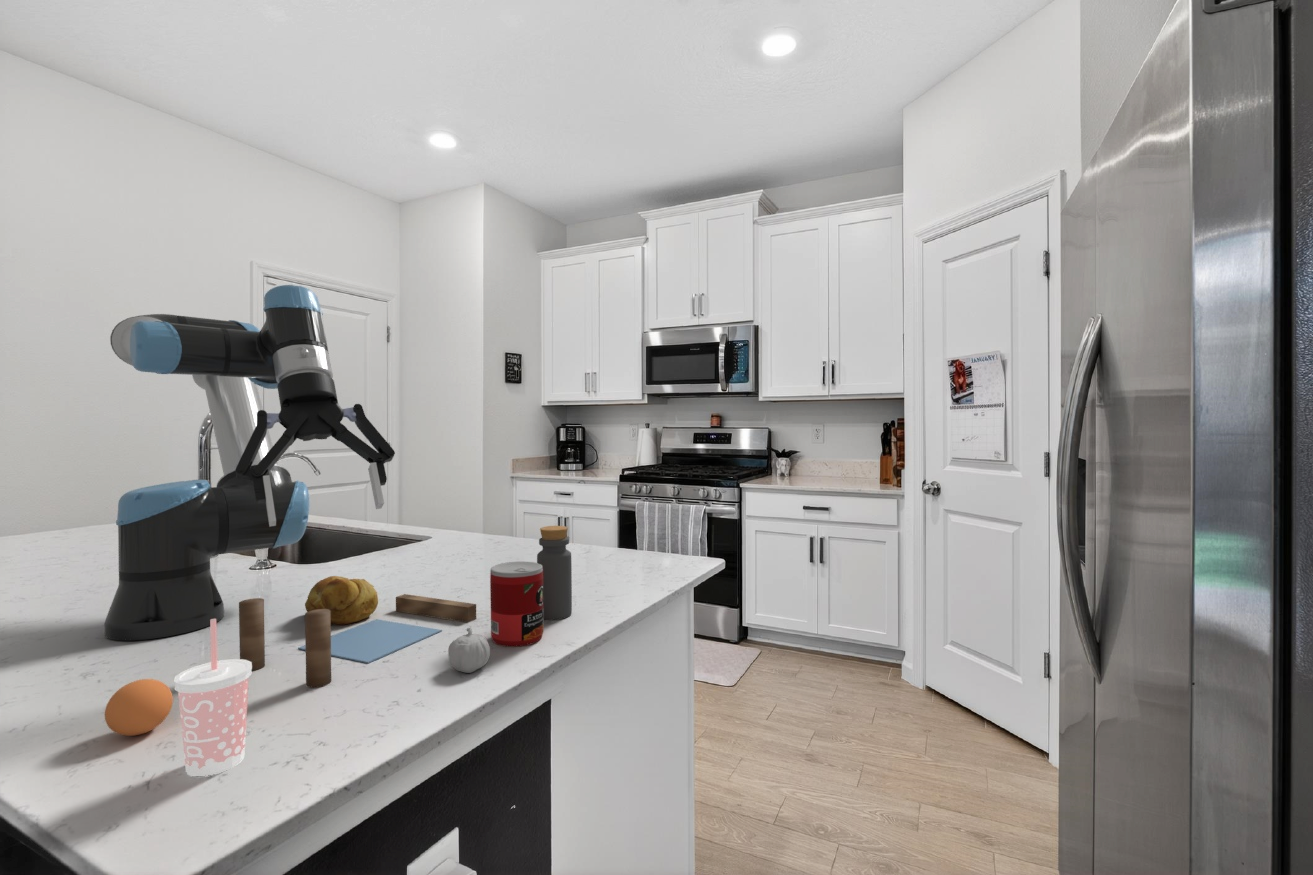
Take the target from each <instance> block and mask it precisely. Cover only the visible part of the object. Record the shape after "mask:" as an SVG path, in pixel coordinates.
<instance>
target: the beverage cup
mask: <svg viewBox="0 0 1313 875" xmlns="http://www.w3.org/2000/svg"><path fill="white" fill-rule="evenodd" d="M209 627H210V628H209V629H210V630H209V631H210V661H208V662H206V663H202V664H198V665H195V666H192V667H189V668H188V669H185V670H183V671H181V672H180V673H178V674H176V675H175V676H174V680H173V685H174V691H176V692H177V695H178V706H179V713H180V714H179V715H180V726H181V734H182V746H183V755H184V756H183V757H184V763H185V764H184V765H185V766H184V767H185V773H186V772H187V773H188V774H190V775H193V776H205V775H206V776H205V777H209V776H208V775H211V776H214V775H213V774H215V775H218V774H221V772H222V773H224V772H226V770H227V771H229V770H231V769H233V768H235V767H236V766H237V765H239V764H241V762H242V761H243V760H244V759H245V752H246V751H245V750H246V738H247V737H246V734H247V714H248V698H249V697H248V696H249V679H250V676H252V672H253V671H251V670H252V662H250V661H248V660H243V659H240V658H232V659H221V660H218V642H217V636H218V634H217V622H216V619H211V620H210V625H209ZM188 774H187V775H188Z"/></svg>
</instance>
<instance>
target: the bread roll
mask: <svg viewBox="0 0 1313 875" xmlns="http://www.w3.org/2000/svg"><path fill="white" fill-rule="evenodd" d="M378 604H379V597H378V592H377V589H375V585H373V584H371V583H370V582H369V581H367V580H366V579H364V578H362V579H360V578H353V579H352V578H350V579H349V578H347V577H344V576H336V575H331V576H328V577H325V578H323V579H320V580H319V581H317V582H316V583H315V584H314V585H313V586H312V588H310V591H309V593H308V595H307V598H306V601H305V603H304V606H305V610H306V613H307V612H309V611H312V610H317V609H329V610H330V618H331V625H332V626H333V625H334V626H335V625H336V626H342V625H348V624H354V623H357V622H359V621H362V620H364V619H367V618H369V617H370V616H371V615H372V614H373V613H374V612H375V611H376V609H377V607H378Z"/></svg>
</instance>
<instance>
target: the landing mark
mask: <svg viewBox="0 0 1313 875" xmlns="http://www.w3.org/2000/svg"><path fill="white" fill-rule="evenodd" d="M442 631H443V630H442V629H438V628H433V627H426V626H420V625H414V624H408V623H402V622H397V621H390V620H383V619H376V618H375V619H374V620H370V621H368V622H366V623H363V624H360V625H357V626H354V627H352V628H349V629H346V630H344V631H340V632H337V633H335V634H333V635H331V657H336V658H340V659H345V660H350V661H356V662H360V663H365V664H370V663H372V662H374V661H378V660H379V659H382V658H384V657H386V656H388V655H391V654H393V653H395V652H397V651H400V650H402V649H405V648H407V647H409V646H411V645H414V644H416V643H419V642H420V641H423V640H425V639H427V638H429V637H432V636H434V635H436V634H439V633H441V632H442ZM298 650H300V651H305V652H306V646H305V645H301V646H299V647H298Z"/></svg>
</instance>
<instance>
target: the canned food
mask: <svg viewBox="0 0 1313 875" xmlns="http://www.w3.org/2000/svg"><path fill="white" fill-rule="evenodd" d="M489 574H490V575H489V576H490V577H489V578H490V580H489V584H490V585H489V587H490V588H489V590H490V636H491V639H492V642H493V643H494V644H496V645H498V646H502V647H510V648H512V647H513V648H514V647H515V648H516V647H524V646H529V645H533V644H535V643H537V642H538V641H540V640H541V639H542V637H543V633H544V619H543V567H542V565H541V564H538V563H537V562H534V561H509V562H501V563H498V564H495V565H493V566H491V568H490V573H489Z"/></svg>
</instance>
